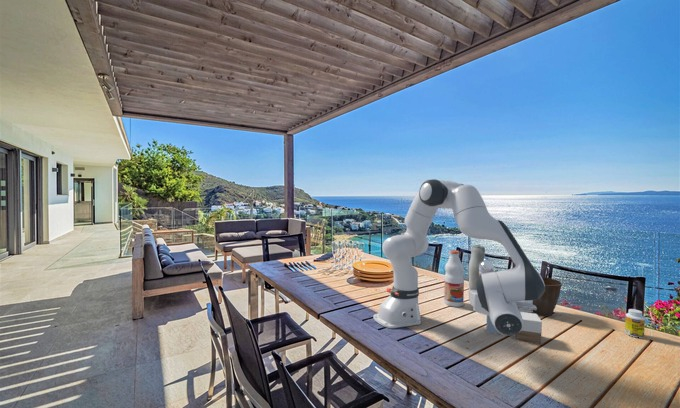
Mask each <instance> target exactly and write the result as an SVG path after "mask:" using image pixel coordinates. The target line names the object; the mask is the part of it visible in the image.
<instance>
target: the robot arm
mask: <svg viewBox="0 0 680 408" xmlns="http://www.w3.org/2000/svg"><path fill="white" fill-rule="evenodd" d="M438 209H444V210H445V209H448V210H449V209H450V210H452V212H453V216H454V220H455V222H456V225H457V227H458V229H459V231H460V232H461V233H462V234H463V235H465V236H467V237H469V238H473V239H477V240H488V241H494V242H497V243H499V244H501V245H502V246H503V248H504V249H505V250H506V252H507V254H508V255H509V257H510V259H511V261H512V262H513V264H514V265H515V266H514V267H513V268H512V267H511V268H508V269H504V270H497V271H493V272H490V273H485V274H481V275H480V276H479V277H478V279H477V281H476V287H477V290H470V289H469V290H468V301H469V304H470V305H471V306H472V307H473V312H475V313H479V314H482V315H486V316H487V315H488V316H490V319H491V322H492V324H493V326H494V327H495V329H496V330H497V331H498V332H500V333H501V334H500V335H503V336H509V337H511V336H515V335H516V334H518V333H519V332H520V331H521V330H522V328H523V319H522V315H521V313H520V312H526V313H532V312H533V311H532V310H536V309H537V308H536V306H535V305H533V300H538V299H539V298H540V297H541V296H542V295H543V293H544V292H545V290H546V289H545V284H544V281H543V279H542V277H543V276H542V275H541V274H540V272H538V270H537V269H536V268H535V267H534V265H533V264H532V262H531V261H530V259H529V258H528V256H527V255H526V253H525V251H524V250H523V249H522V247H521V245H520V244H519V243H518V241H517V239H516V238H515V236H514V235H513V233H512V232H511V230H510V229H509V227H508V226H507V224H505V222H504V221H502V220H500V219H496V218H494V216H492V215H491V213H490V212H489V209H488V208H487V206H486V203H485V201H484V198H483V197H482V195H481V193H480V192H479V190H478V189H477V188H476V187H475V186H474V185H471V184H463V183H459V182H456V181H455V182H454V181H451V180H440V179H436V178H435V179H428V180H424V181H423V182H422V184H421V186H420V188H419V191H418V192H417V193H416V195H415V197H414V199H413V200H412V202H411V204H410V205H409V209H408V211H407V213H406V215H405V217H404V221H403V222H404V224H405V226H406V231H405V232H404V233H403V234H397V235H392V236H390V237H388V238H386V239H384V241H383V243H382V252H383V253H382V254H383V255H384V256H385V258H387V259H388V260H389V262H390V264H391V267H392V271H393V286H392V287H391V288H390V287H387V288H386V292H387V293H390V294H389V296H387V297H386V298H385V299H384V300H383V302H382V303H380V304H379V307H378V313H375V314H373V316H372V317H373V320H374V321H375V322H376V323H378V324H379V325H380V326H383V327H384V328H388V329H397V328H398V329H399V328H405V327H410V326H417V325H421V320H422V315H421V311H420V307H419V305H420V304H419V296H420V295H419V293H420V290H419V284H418V283H419V278H418V277H419V273H418V272H419V271H418V270H417V269H416V267H415V266H413V264H412V258H414V257H419V256H421V255H423V254H424V253H426V252H427V250H429V249H428V248H429V241H428V238H427V235H428V231H429V228H430V226H431V224H432V222H433V220H434V217H435V216H436V214H437V211H438Z"/></svg>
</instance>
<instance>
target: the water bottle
mask: <svg viewBox="0 0 680 408" xmlns="http://www.w3.org/2000/svg"><path fill="white" fill-rule="evenodd" d="M484 259H485V260H484V261H482V262H481V263H480V264H479V276H480V275H481V274H485V273H490V272H494V269H495V268H494V267H495V266H494V264H493V263H492V262H491V261H490V260H489V257H487V256H485V257H484Z"/></svg>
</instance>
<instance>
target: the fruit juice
mask: <svg viewBox="0 0 680 408" xmlns="http://www.w3.org/2000/svg"><path fill="white" fill-rule="evenodd" d="M448 253H449V257H448V259H447V262H446V263H445V266H444V271H445V275H444V291H443V293H444V294H443V295H444V298H443V299H444V304H445V305H447V306H450V307H453V308H459V307H462V306H464V303H465V302H464V300H465V299H464V298H465V296H464V293H465V292H464V291H465V290H464V289H465V288H464V286H465V285H464V284H465V283H464V282H465V278H464V269H465V268H464V264H462V261H461V259H460V251H459V250H456V249H450V250H449V251H448Z"/></svg>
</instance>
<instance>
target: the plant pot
mask: <svg viewBox="0 0 680 408" xmlns="http://www.w3.org/2000/svg"><path fill="white" fill-rule="evenodd" d="M541 277H542V279H543V281H544V284H545V289H546V290H545V292H544V293H543V295H542V296H541V297H540V298H539V299H538V300H533V305H535V306H536V308H537V309H536V310H532V312H533V313H534V314H537V315H538V316H542V317H551V316H552V315H553V313H554V311H555V308H556V307H557V304H558V302H559V301H558V300H559V298H560V294H561V289H562V284H563V283H562V281H560V280H557V279H555V278H551V277H546V276H541Z"/></svg>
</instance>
